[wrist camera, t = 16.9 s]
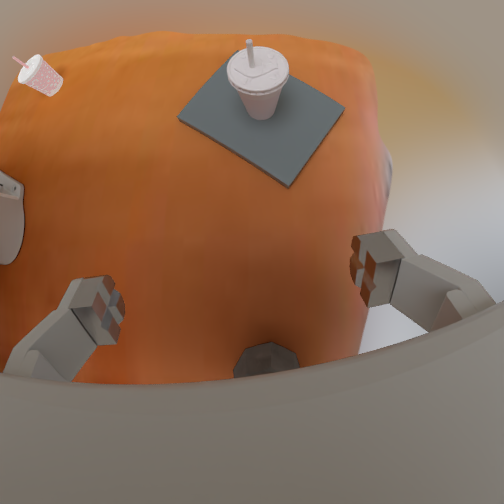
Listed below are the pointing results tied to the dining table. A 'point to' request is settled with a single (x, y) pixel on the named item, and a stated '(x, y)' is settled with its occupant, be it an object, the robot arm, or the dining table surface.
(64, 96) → the dining table surface
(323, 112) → the slate board
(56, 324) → the robot arm
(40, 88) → the beverage cup
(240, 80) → the smoothie
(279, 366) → the coffeepot
